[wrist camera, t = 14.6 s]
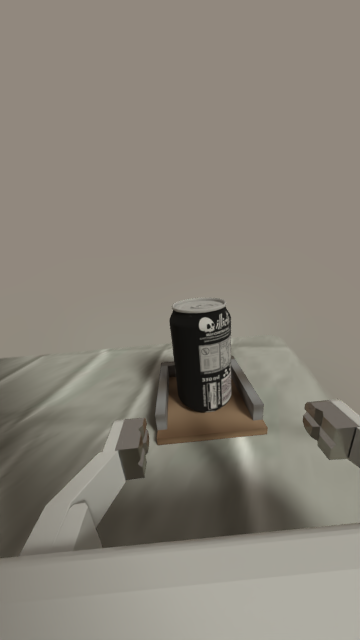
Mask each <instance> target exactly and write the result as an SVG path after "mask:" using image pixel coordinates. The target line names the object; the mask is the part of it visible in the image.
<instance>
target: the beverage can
mask: <svg viewBox="0 0 360 640" xmlns="http://www.w3.org/2000/svg"><path fill="white" fill-rule="evenodd" d="M225 306H226V301H224V300H222V299H217V298H195V299H188V300H183V301H180V302H177V303H175V304H173V305H172V309H173V313H172V315H171V317H170V329H171V337H172V346H173V355H174V363H175V372H176V381H177V389H178V396H179V399H180V400H181V402H182V403H183V404H184V405H186V406H187V407H189V408H190V409H192V410H194V411H197V412H203V413H208V412H214V411H216V410H218V409H220V408H221V407H223V406H224V405H226V404H227V403H228V401H229V400H230V397H231V317H230V314H229V312H228V311H227V309H226V307H225Z"/></svg>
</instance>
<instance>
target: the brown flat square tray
mask: <svg viewBox="0 0 360 640" xmlns="http://www.w3.org/2000/svg"><path fill="white" fill-rule="evenodd" d="M263 407H264V404H263V402H262V401H261V399H260V397H259V396H258V394H257V393H256V391H255V390H254V388H253V386H252V385H251V383H250V382H249V380H248V379H247V377H246V375H245V374H244V372H243V371H242V369H241V368H240V366H239V364H238V363H237V361H236V360H235V358H234V357H233V356H231V397H230V400H229V401H228V403H227V404H226V405H224V406H223V407H221V408H220V409H218V410H216V411H214V412H208V413H203V412H197V411H194V410H192V409H190V408H189V407H187V406H186V405H184V404H183V403H182V402H181V400H180V399H179V396H178V389H177V381H176V372H175V363H174V362H166V363H161V370H160V378H159V386H158V394H157V403H156V411H155V418H156V424H157V430H158V431H157V444H158V445H164V444H174V443H184V442H194V441H204V440H213V439H223V438H233V437H243V436H253V435H263V434H267V426H266V424H265V423H264V421H263Z"/></svg>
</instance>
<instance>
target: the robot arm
mask: <svg viewBox="0 0 360 640" xmlns="http://www.w3.org/2000/svg"><path fill="white" fill-rule="evenodd" d="M304 409H305V410H306V411H307V412H306V413H305V414H304V416H303V423H304V427H305V429H306V431H307V432H308V434H309V435H310V436H311V437H312V438H314V439H315V440H317V442H318V447H319V448H320V449H321V450H322V452H323V453H324V454H325V455H326V457H327V458H328V459H329V460H336V459H348V460H349V461H351V462H352V463H354V464H355V465H356V466H358V467H359V468H360V416H359V415H358V414H357V413H356V412H354V411H353V410H352V409H351V408H350V407H348V406H347V405H346V404H345V403H344V402H342V401H341V400H339V399H333V400H324V401H314V402H307V403H306V404H305V408H304ZM146 425H147V423H146V419H145V418H136V419H125V420H115V421H114V423H113V425H112V427H111V430H110V432H109V435H108V438H107V440H106V443H105V446H104V448H103V451H102V452H99V453H98V454H97V455H96V456H95V457H94V458H93V459H92V460H91V461H90V462H89V463H88V464H87V465H86V466H85V467H84V468H83V469H82V470H81V471H80V472H79V473H78V474H77V475H76V476H75V477H74V478H73V479H72V480H71V481H70V482H69V483H68V484H67V485H66V486H65V487H64V488H63V489H62V490H61V491H60V492H59V493H58V494H57V495H56V496H55V497H54V498H53V499H52V500H51V501H50V502H49V503H48V504H47V505H46V506H45V508H44V510H43V511H42V513H41V515H40V517H39V519H38V521H37V523H36V525H35V527H34V528H33V530H32V532H31V534H30V536H29V538H28V540H27V542H26V544H25V545H24V547H23V549H22V551H21V553H20V555H19V556H17V557H7V558H0V640H360V523H352V524H342V525H332V526H322V527H311V528H301V529H291V530H281V531H270V532H260V533H250V534H240V535H230V536H220V537H210V538H200V539H190V540H179V541H169V542H159V543H149V544H139V545H129V546H119V547H109V548H102V544H101V541H100V539H99V536H98V533H97V531H96V527H97V525H98V524H99V522H100V521H101V519H102V518H103V516H104V514H105V513H106V511H107V510H108V508H109V507H110V505H111V504H112V502H113V501H114V499H115V497H116V496H117V494H118V493H119V491H120V490H121V488H122V487H123V485H124V484H125V482H126V481H125V480H132V479H139V478H145V471H146V464H147V461H146V454H147V453H148V449H149V434H148V430H147V429H146Z"/></svg>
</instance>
